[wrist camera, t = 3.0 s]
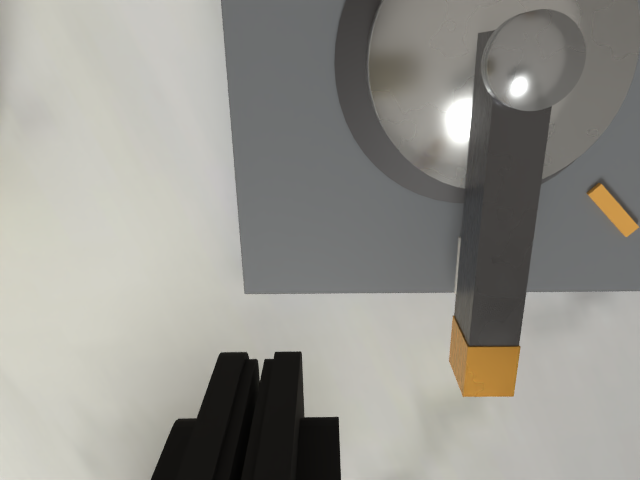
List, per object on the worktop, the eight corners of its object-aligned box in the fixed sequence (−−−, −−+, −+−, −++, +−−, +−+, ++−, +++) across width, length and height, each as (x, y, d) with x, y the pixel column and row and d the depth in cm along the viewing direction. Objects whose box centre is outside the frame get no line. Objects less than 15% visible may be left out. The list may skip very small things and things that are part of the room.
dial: (366, -74, 19) (379, -124, 14) (629, -82, 19) (744, -136, 14) (362, 336, 25) (369, 408, 20) (559, 335, 25) (619, 408, 20)
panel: (209, -236, 19) (198, -263, 17) (793, -259, 18) (838, -289, 17) (249, 281, 27) (243, 296, 25) (663, 278, 26) (686, 292, 24)
